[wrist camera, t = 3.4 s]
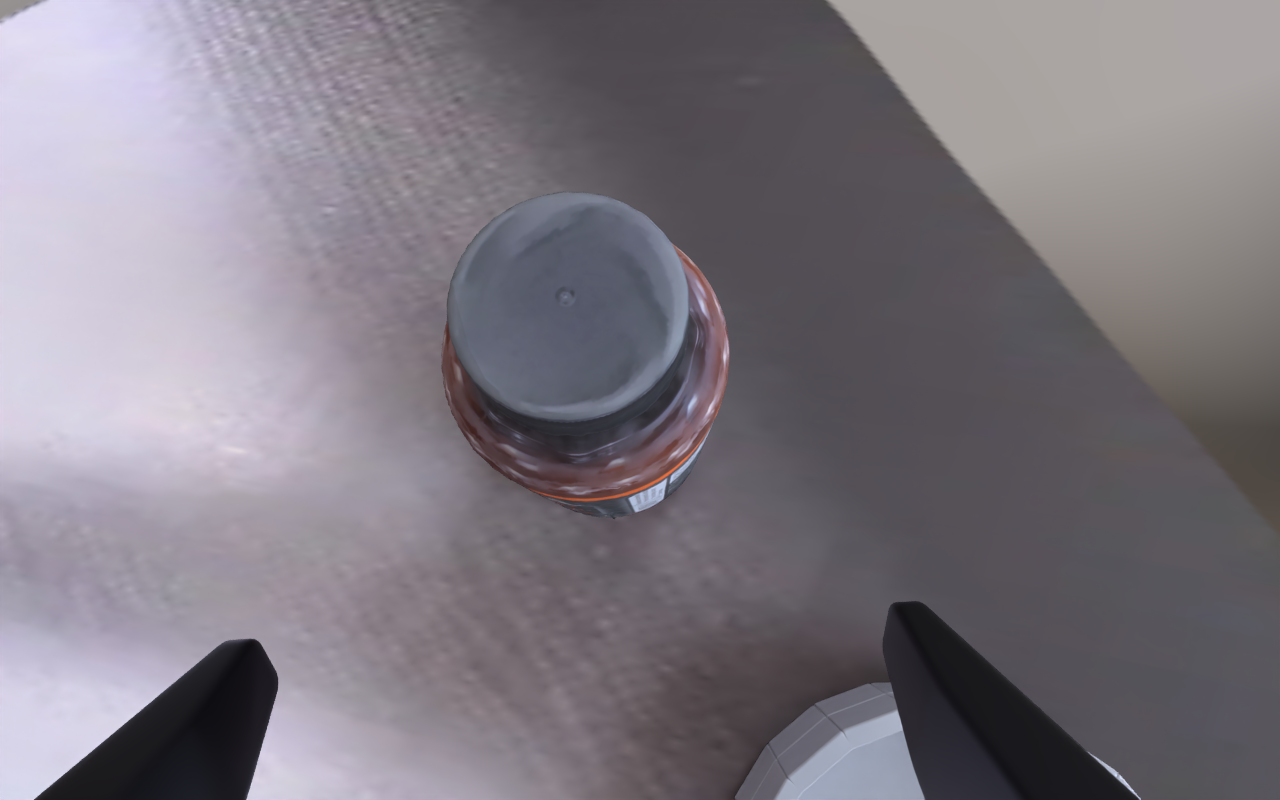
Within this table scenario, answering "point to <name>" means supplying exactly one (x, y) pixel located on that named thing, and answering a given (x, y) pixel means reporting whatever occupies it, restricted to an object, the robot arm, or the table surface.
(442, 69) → the table surface
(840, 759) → the pan
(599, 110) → the table surface
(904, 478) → the table surface
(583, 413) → the supplement bottle
